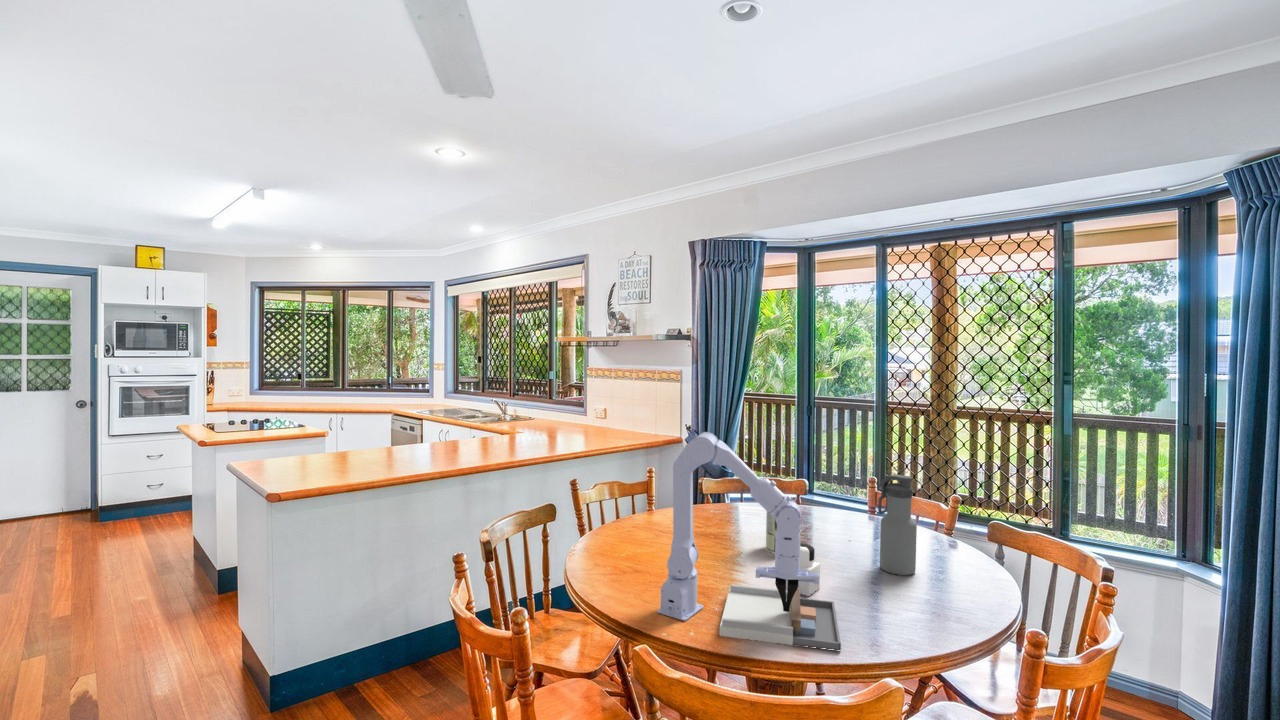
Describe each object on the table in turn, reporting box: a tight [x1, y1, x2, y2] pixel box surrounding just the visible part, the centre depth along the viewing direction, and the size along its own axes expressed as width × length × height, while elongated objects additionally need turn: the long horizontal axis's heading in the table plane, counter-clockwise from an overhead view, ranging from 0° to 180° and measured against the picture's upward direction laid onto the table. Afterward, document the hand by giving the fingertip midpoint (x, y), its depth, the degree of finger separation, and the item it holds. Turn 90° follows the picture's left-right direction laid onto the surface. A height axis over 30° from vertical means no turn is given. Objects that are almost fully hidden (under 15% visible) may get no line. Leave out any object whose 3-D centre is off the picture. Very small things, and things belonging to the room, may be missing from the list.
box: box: [793, 597, 842, 650], centre depth 140 cm, size 10×22×2 cm, turn 166°
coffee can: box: [765, 511, 777, 555], centre depth 193 cm, size 10×10×14 cm
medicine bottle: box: [786, 542, 821, 597], centre depth 162 cm, size 7×7×12 cm
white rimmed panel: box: [719, 583, 793, 646], centre depth 144 cm, size 16×22×4 cm
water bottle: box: [877, 473, 918, 576], centre depth 177 cm, size 10×10×28 cm
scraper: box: [791, 589, 801, 632], centre depth 141 cm, size 2×18×2 cm, turn 166°
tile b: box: [795, 619, 815, 636], centre depth 138 cm, size 4×4×2 cm
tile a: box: [800, 606, 816, 622], centre depth 144 cm, size 4×4×2 cm
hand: (786, 609), depth 142 cm, fingers closed
